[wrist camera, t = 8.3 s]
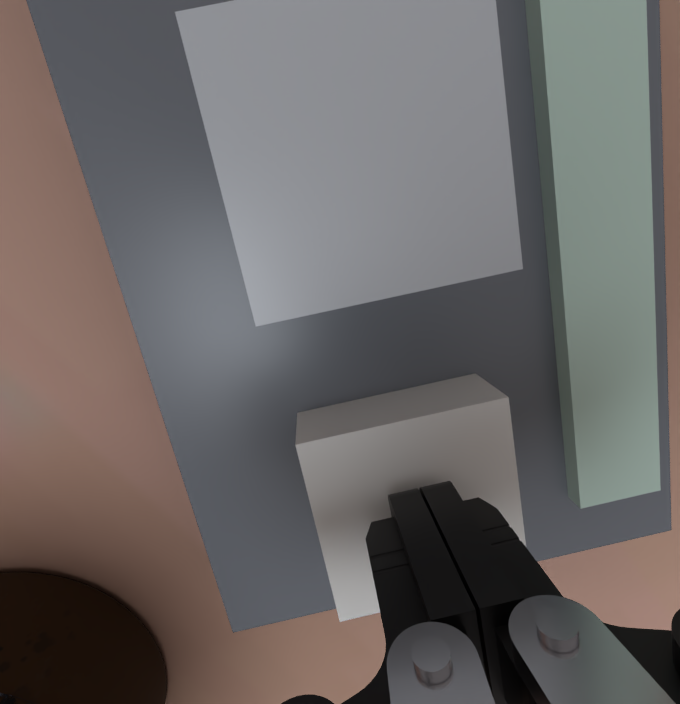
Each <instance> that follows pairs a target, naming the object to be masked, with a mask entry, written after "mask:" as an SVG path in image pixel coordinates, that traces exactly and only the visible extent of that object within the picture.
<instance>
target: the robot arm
mask: <svg viewBox="0 0 680 704" xmlns="http://www.w3.org/2000/svg"><path fill="white" fill-rule="evenodd" d="M388 501H389V506H390V511H391V516H392V517H391V518H386V519H382V520H378V521H373V522H371V524H370V527H369V530H368V533H367V536H366V544H367V549H368V554H369V559H370V564H371V569H372V574H373V579H374V584H375V588H376V593H377V598H378V603H379V608H380V613H381V618H382V623H383V628H384V633H385V638H386V652H385V657H384V661H383V663H382V666H381V668H380V670H379V671H378V673H377V675H376V676H375V677H374V679H373V680H372V681H371V682H370V683H369V684H368V685H367V686H366V687H365V688H364V689H363V690H361V691H360V692H359V693H357V694H356V695H354V696H353V697H351V698H349V699H348V700H346V701H345V702H343V703H342V704H680V609H679V610H678V611H677V612H676V613H675V615H674V617H673V619H672V631H669V630H653V629H638V628H626V627H618V626H614V625H609V624H606V623H603V622H602V621H601V620H600V619H599V618H598V617H597V616H596V615H595V614H594V613H593V612H591V611H590V610H589V609H587V608H586V607H584V606H583V605H581V604H579V603H577V602H575V601H573V600H570V599H567V598H564V597H563V596H562V595H561V594H560V592H559V591H558V589H557V588H556V587H555V585H554V584H553V583H552V581H551V580H550V579H549V577H548V576H547V575H546V573H545V572H544V571H543V569H542V568H541V567H540V565H539V564H538V563H537V561H536V560H535V559H534V557H533V556H532V554H531V553H530V552H529V550H528V549H527V548H526V546H525V545H524V544H523V542H522V541H520V540H519V537H518V536H517V534H516V533H515V532H514V530H513V529H512V528H511V527H510V526H509V524H508V522H507V521H506V520H505V518H504V517H503V515H502V514H501V513H500V511H499V510H498V509H497V508H496V507H494V506H492V505H491V504H489V503H487V502H486V501H484V500H482V499H481V498H479V497H477V498H473V499H469V500H464V501H463V500H462V498H461V497H460V495H459V493H458V492H457V490H456V489H455V487H454V485H453V484H452V482H451V481H446V482H441V483H437V484H433V485H428V486H424V487H420V488H419V489H418V488H416V489H411V490H407V491H402V492H398V493H394V494H389V495H388ZM281 704H334V703H332V702H331V701H330V700H328V699H326V698H324V697H321V696H317V695H301V696H296V697H294V698H291V699H289V700H287V701H285V702H283V703H281Z"/></svg>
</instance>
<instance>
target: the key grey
mask: <svg viewBox="0 0 680 704" xmlns="http://www.w3.org/2000/svg"><path fill="white" fill-rule="evenodd" d="M175 14H176V18H177V22H178V26H179V30H180V34H181V38H182V42H183V45H184V49H185V53H186V57H187V61H188V65H189V69H190V73H191V77H192V80H193V84H194V88H195V92H196V96H197V100H198V104H199V108H200V112H201V115H202V119H203V123H204V127H205V131H206V135H207V139H208V143H209V147H210V150H211V154H212V158H213V162H214V166H215V170H216V174H217V178H218V182H219V186H220V189H221V193H222V197H223V201H224V205H225V209H226V213H227V217H228V221H229V224H230V228H231V232H232V236H233V240H234V244H235V248H236V252H237V256H238V259H239V263H240V267H241V271H242V275H243V279H244V283H245V287H246V291H247V294H248V298H249V302H250V306H251V310H252V314H253V318H254V322H255V326H261V325H266V324H270V323H275V322H280V321H284V320H289V319H294V318H298V317H303V316H307V315H312V314H317V313H321V312H326V311H331V310H335V309H340V308H345V307H349V306H354V305H358V304H363V303H368V302H372V301H377V300H382V299H386V298H391V297H395V296H400V295H405V294H409V293H414V292H419V291H423V290H428V289H433V288H437V287H442V286H446V285H451V284H456V283H460V282H465V281H470V280H474V279H479V278H484V277H488V276H493V275H497V274H502V273H507V272H511V271H516V270H521V269H523V264H522V254H521V244H520V234H519V225H518V215H517V205H516V195H515V185H514V175H513V165H512V155H511V146H510V136H509V126H508V116H507V106H506V96H505V86H504V77H503V67H502V57H501V47H500V37H499V27H498V17H497V7H496V0H233V1H228V2H223V3H218V4H212V5H207V6H202V7H197V8H192V9H187V10H182V11H177V12H175Z"/></svg>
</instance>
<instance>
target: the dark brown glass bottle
mask: <svg viewBox="0 0 680 704" xmlns="http://www.w3.org/2000/svg"><path fill="white" fill-rule="evenodd" d="M166 691H167V679H166V671H165V666H164V662H163V659H162V656H161V654H160V651H159V649H158V647H157V645H156V643H155V641H154V640H153V638H152V636H151V635H150V633H149V632H148V631H147V629H146V628H145V627H144V626H143V624H142V623H141V622H140V621H139V620H138V619H137V618H136V617H135V616H134V615H133V614H132V613H131V612H130V611H129V610H128V609H126V608H125V607H124V606H123V605H121V604H120V603H119V602H117V601H116V600H114V599H113V598H111V597H109V596H108V595H106V594H104V593H102V592H101V591H99V590H97V589H94V588H92V587H90V586H88V585H85V584H82V583H80V582H77V581H74V580H70V579H67V578H63V577H59V576H54V575H48V574H40V573H28V572H8V573H0V704H165V700H166Z"/></svg>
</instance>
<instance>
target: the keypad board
mask: <svg viewBox="0 0 680 704" xmlns="http://www.w3.org/2000/svg"><path fill="white" fill-rule="evenodd" d="M26 1H27V4H28V7H29V10H30V13H31V16H32V19H33V22H34V25H35V28H36V31H37V34H38V37H39V41H40V44H41V47H42V50H43V53H44V56H45V59H46V62H47V65H48V68H49V71H50V74H51V77H52V80H53V83H54V86H55V89H56V92H57V96H58V99H59V102H60V105H61V108H62V111H63V114H64V117H65V120H66V123H67V126H68V129H69V132H70V135H71V138H72V141H73V144H74V148H75V151H76V154H77V157H78V160H79V163H80V166H81V169H82V172H83V175H84V178H85V181H86V184H87V187H88V190H89V193H90V196H91V200H92V203H93V206H94V209H95V212H96V215H97V218H98V221H99V224H100V227H101V230H102V233H103V236H104V239H105V242H106V245H107V248H108V252H109V255H110V258H111V261H112V264H113V267H114V270H115V273H116V276H117V279H118V282H119V285H120V288H121V291H122V294H123V297H124V300H125V304H126V307H127V310H128V313H129V316H130V319H131V322H132V325H133V328H134V331H135V334H136V337H137V340H138V343H139V346H140V349H141V352H142V356H143V359H144V362H145V365H146V368H147V371H148V374H149V377H150V380H151V383H152V386H153V389H154V392H155V395H156V398H157V401H158V404H159V407H160V411H161V414H162V417H163V420H164V423H165V426H166V429H167V432H168V435H169V438H170V441H171V444H172V447H173V450H174V453H175V456H176V459H177V463H178V466H179V469H180V472H181V475H182V478H183V481H184V484H185V487H186V490H187V493H188V496H189V499H190V502H191V505H192V508H193V511H194V515H195V518H196V521H197V524H198V527H199V530H200V533H201V536H202V539H203V542H204V545H205V548H206V551H207V554H208V557H209V560H210V563H211V567H212V570H213V573H214V576H215V579H216V582H217V585H218V588H219V591H220V594H221V597H222V600H223V603H224V606H225V609H226V612H227V615H228V619H229V622H230V625H231V628H232V631H233V632H237V631H242V630H246V629H250V628H255V627H259V626H263V625H267V624H272V623H276V622H280V621H284V620H289V619H293V618H297V617H302V616H306V615H310V614H314V613H319V612H323V611H327V610H332V609H336V605H335V601H334V597H333V593H332V589H331V585H330V581H329V577H328V573H327V569H326V565H325V561H324V557H323V553H322V549H321V545H320V541H319V537H318V533H317V529H316V525H315V521H314V517H313V513H312V509H311V505H310V501H309V497H308V493H307V489H306V485H305V481H304V477H303V474H302V470H301V466H300V462H299V458H298V454H297V450H296V446H295V441H296V425H297V413H299V412H303V411H308V410H312V409H317V408H321V407H326V406H330V405H335V404H339V403H344V402H348V401H353V400H357V399H362V398H366V397H371V396H375V395H380V394H384V393H389V392H393V391H398V390H402V389H407V388H411V387H416V386H420V385H425V384H430V383H434V382H439V381H443V380H448V379H452V378H457V377H461V376H466V375H470V374H475V373H476V374H477V375H478V376H480V377H481V378H483V379H484V380H485V381H487V382H488V383H490V384H491V385H492V386H494V387H495V388H497V389H498V390H499V391H501V392H502V393H504V394H505V395H506V396H508V397H509V405H510V413H511V422H512V430H513V439H514V447H515V456H516V464H517V473H518V481H519V490H520V498H521V507H522V515H523V524H524V532H525V541H526V548H527V549H528V550H529V552H530V553H531V554H532V556H533V557H534V559H535V560H536V561H541V560H545V559H550V558H554V557H558V556H563V555H567V554H571V553H575V552H580V551H584V550H588V549H592V548H597V547H601V546H605V545H610V544H614V543H618V542H622V541H627V540H631V539H635V538H640V537H644V536H648V535H652V534H657V533H661V532H665V531H669V530H671V494H670V450H669V406H668V362H667V318H666V274H665V231H664V187H663V143H662V99H661V55H660V11H659V0H496V7H497V17H498V27H499V37H500V47H501V57H502V67H503V77H504V86H505V96H506V106H507V116H508V126H509V136H510V146H511V155H512V165H513V175H514V185H515V195H516V205H517V215H518V225H519V234H520V244H521V254H522V264H523V269H521V270H516V271H511V272H507V273H502V274H497V275H493V276H488V277H484V278H479V279H474V280H470V281H465V282H460V283H456V284H451V285H446V286H442V287H437V288H433V289H428V290H423V291H419V292H414V293H409V294H405V295H400V296H395V297H391V298H386V299H382V300H377V301H372V302H368V303H363V304H358V305H354V306H349V307H345V308H340V309H335V310H331V311H326V312H321V313H317V314H312V315H307V316H303V317H298V318H294V319H289V320H284V321H280V322H275V323H270V324H266V325H261V326H255V322H254V318H253V314H252V310H251V306H250V302H249V298H248V294H247V291H246V287H245V283H244V279H243V275H242V271H241V267H240V263H239V259H238V256H237V252H236V248H235V244H234V240H233V236H232V232H231V228H230V224H229V221H228V217H227V213H226V209H225V205H224V201H223V197H222V193H221V189H220V186H219V182H218V178H217V174H216V170H215V166H214V162H213V158H212V154H211V150H210V147H209V143H208V139H207V135H206V131H205V127H204V123H203V119H202V115H201V112H200V108H199V104H198V100H197V96H196V92H195V88H194V84H193V80H192V77H191V73H190V69H189V65H188V61H187V57H186V53H185V49H184V45H183V42H182V38H181V34H180V30H179V26H178V22H177V18H176V14H175V12H177V11H182V10H187V9H192V8H197V7H202V6H207V5H212V4H218V3H223V2H228V1H233V0H26Z"/></svg>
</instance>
